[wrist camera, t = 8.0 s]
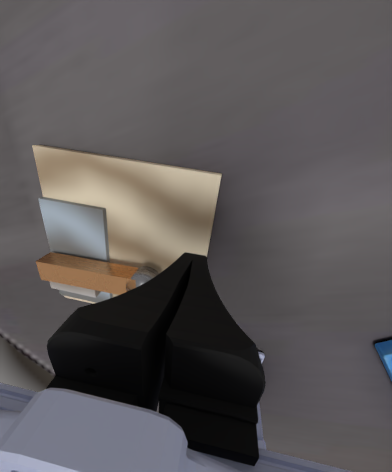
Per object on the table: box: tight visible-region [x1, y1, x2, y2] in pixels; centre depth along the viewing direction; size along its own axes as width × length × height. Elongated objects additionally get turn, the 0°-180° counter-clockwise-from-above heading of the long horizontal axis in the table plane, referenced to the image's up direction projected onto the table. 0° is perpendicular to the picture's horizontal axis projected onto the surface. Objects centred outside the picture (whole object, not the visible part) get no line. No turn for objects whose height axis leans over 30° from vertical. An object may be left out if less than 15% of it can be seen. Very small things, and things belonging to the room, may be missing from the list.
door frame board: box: [32, 145, 222, 304], centre depth 22 cm, size 19×18×4 cm
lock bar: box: [36, 252, 159, 295], centre depth 22 cm, size 13×3×2 cm, turn 84°
